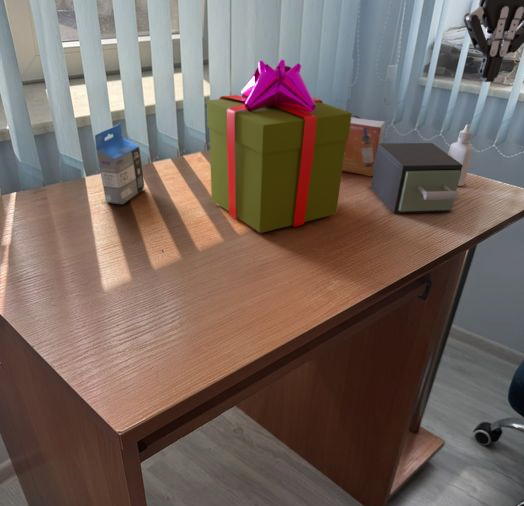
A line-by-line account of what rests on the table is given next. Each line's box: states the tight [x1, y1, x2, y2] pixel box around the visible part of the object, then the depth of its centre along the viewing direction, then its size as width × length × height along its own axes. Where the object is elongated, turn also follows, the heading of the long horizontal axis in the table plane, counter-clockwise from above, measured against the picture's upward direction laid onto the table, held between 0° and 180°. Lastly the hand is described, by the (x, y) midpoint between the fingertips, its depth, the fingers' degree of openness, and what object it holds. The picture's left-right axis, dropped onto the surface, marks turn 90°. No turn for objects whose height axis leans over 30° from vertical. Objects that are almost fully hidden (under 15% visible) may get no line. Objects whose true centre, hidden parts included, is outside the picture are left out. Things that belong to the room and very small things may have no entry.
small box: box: [342, 117, 386, 177], centre depth 115 cm, size 8×6×10 cm
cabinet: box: [370, 142, 463, 215], centre depth 103 cm, size 14×12×9 cm
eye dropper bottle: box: [447, 124, 474, 187], centre depth 111 cm, size 4×6×12 cm
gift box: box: [206, 59, 353, 234], centre depth 91 cm, size 21×21×25 cm
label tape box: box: [94, 123, 146, 205], centre depth 98 cm, size 9×4×12 cm, turn 162°
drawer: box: [398, 169, 461, 212], centre depth 100 cm, size 17×10×7 cm, turn 9°
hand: (486, 80), depth 87 cm, fingers closed
